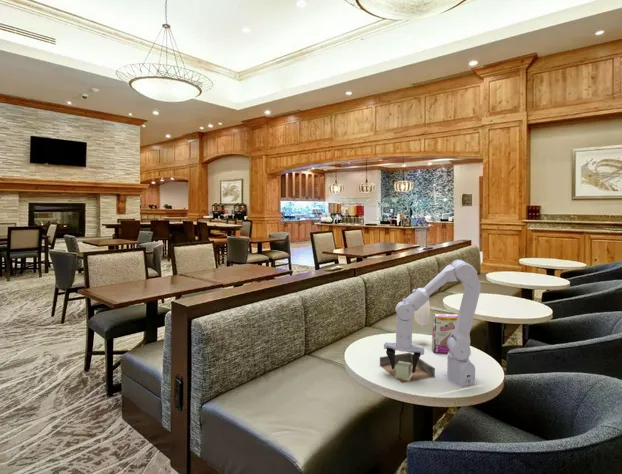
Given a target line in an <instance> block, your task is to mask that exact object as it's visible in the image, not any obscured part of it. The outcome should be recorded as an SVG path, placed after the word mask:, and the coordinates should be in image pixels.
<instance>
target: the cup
mask: <svg viewBox="0 0 622 474" xmlns="http://www.w3.org/2000/svg"><path fill="white" fill-rule="evenodd" d="M430 316H431V306H430V300H429V301H427V302H426V303H425V304H424V305H423V306H421V307H420V308H419V309H418V310H417V311H415V312H414V315H413V317H414V321H415V323H416V324H418V325H419V326H421V327H422V326H423V327H424V326H425V325H426V324H428V322H429V320H430Z"/></svg>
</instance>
